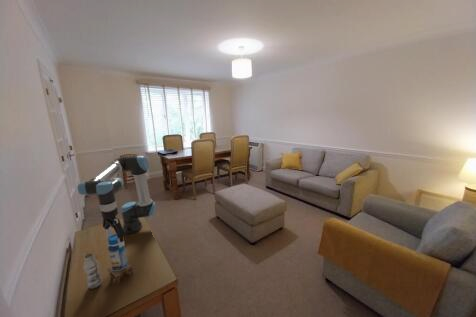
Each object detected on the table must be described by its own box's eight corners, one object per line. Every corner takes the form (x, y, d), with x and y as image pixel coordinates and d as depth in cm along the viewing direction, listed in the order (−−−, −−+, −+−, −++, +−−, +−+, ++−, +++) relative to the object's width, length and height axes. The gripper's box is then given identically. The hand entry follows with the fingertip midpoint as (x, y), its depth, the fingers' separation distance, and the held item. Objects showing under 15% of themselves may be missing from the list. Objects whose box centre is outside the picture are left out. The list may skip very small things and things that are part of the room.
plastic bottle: (94, 280, 117) (87, 251, 112) (105, 281, 116) (98, 252, 112) (85, 290, 111) (77, 259, 106) (96, 291, 110) (89, 260, 105)
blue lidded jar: (130, 266, 117) (124, 236, 113) (113, 274, 112) (107, 243, 107) (126, 258, 124) (121, 230, 119) (110, 266, 118) (104, 236, 113)
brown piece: (126, 267, 126) (124, 258, 124) (134, 274, 121) (133, 264, 119) (109, 278, 118) (107, 268, 116) (117, 286, 113) (115, 275, 111)
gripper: (91, 206, 113) (98, 238, 118) (113, 218, 100) (120, 253, 105) (105, 201, 119) (112, 232, 124) (128, 211, 106) (134, 245, 111)
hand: (115, 242), depth 114 cm, fingers open, 13 cm apart
